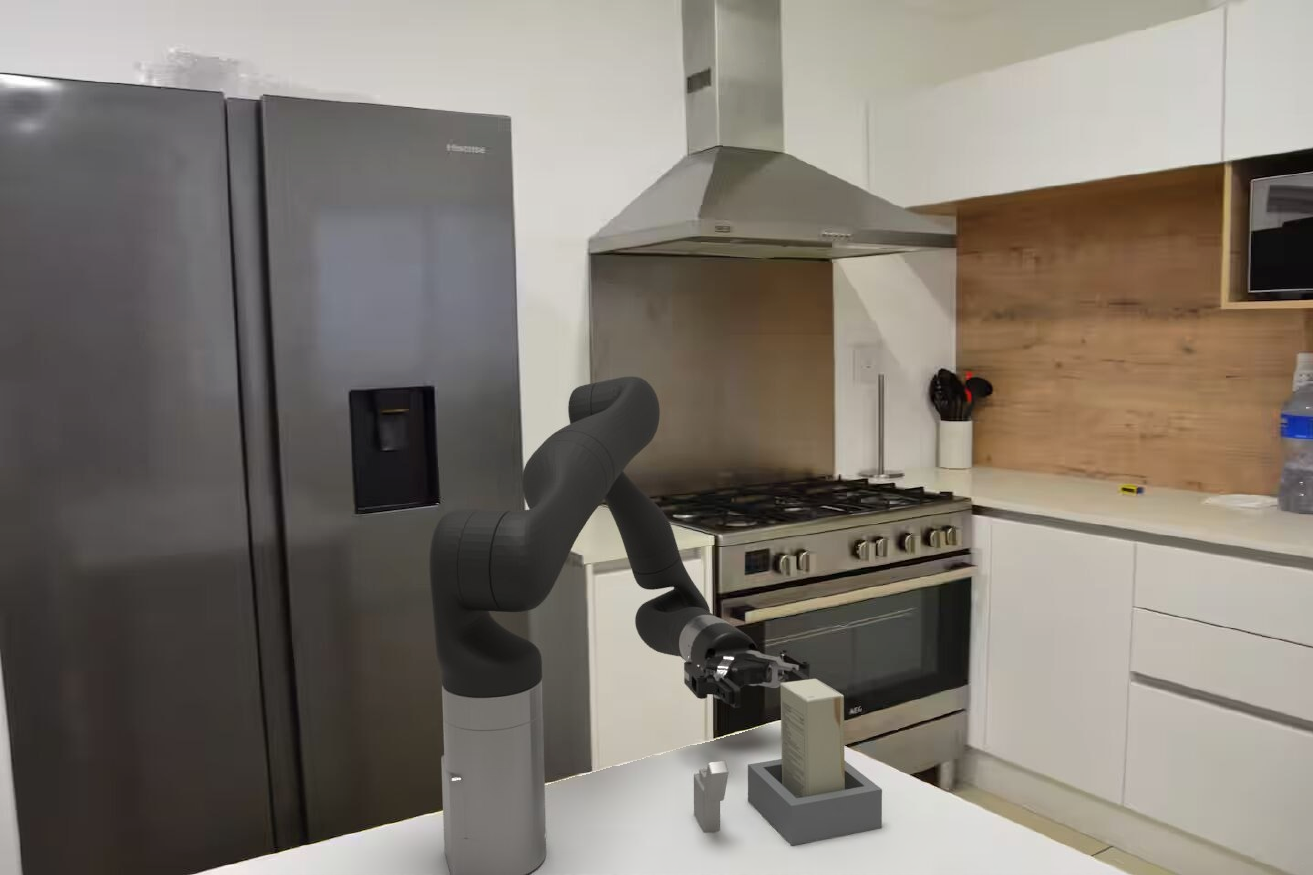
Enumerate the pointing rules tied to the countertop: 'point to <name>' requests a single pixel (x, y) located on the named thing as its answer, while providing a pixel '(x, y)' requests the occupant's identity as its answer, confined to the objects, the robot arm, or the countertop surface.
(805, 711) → the skincare box
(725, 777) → the lighter
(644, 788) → the countertop surface
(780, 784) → the holder
